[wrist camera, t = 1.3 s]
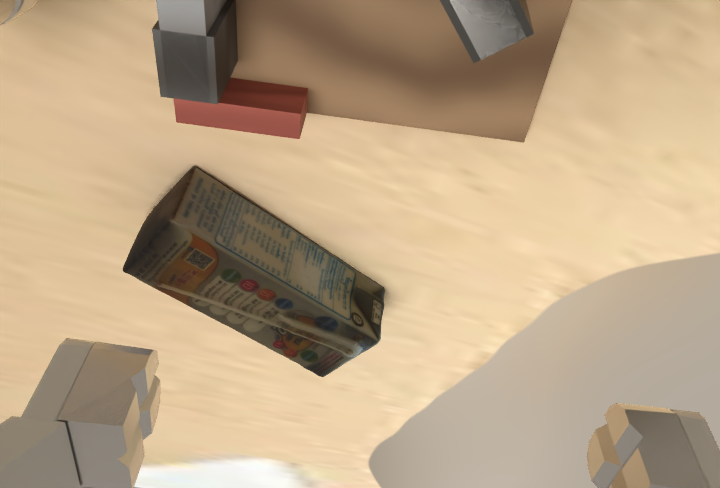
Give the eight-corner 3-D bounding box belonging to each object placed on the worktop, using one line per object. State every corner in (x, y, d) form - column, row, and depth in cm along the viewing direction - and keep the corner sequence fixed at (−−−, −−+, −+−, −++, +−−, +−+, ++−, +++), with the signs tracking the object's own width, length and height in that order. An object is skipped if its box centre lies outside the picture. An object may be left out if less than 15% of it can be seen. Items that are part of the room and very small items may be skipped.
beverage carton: (330, 328, 59) (320, 389, 54) (142, 216, 51) (111, 275, 46) (388, 286, 54) (383, 349, 50) (191, 156, 47) (163, 216, 42)
